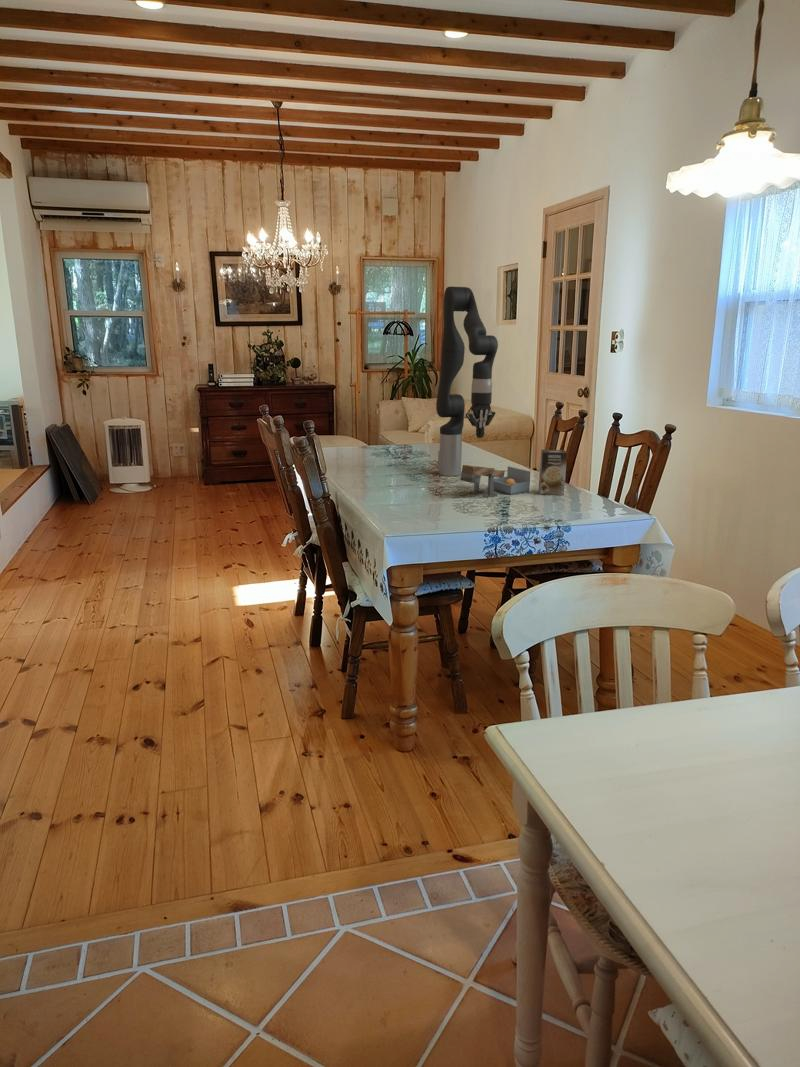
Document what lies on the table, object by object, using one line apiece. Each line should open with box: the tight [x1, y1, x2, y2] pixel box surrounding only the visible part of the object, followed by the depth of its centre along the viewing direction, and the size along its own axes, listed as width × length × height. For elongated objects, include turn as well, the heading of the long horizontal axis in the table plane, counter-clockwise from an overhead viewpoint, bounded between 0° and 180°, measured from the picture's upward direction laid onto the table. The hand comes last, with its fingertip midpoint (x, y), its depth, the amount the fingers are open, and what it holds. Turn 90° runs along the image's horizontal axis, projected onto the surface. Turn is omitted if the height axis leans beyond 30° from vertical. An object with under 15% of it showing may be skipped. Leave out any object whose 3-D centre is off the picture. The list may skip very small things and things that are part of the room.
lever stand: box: [469, 473, 498, 499], centre depth 276 cm, size 5×11×9 cm, turn 33°
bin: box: [493, 465, 531, 496], centre depth 283 cm, size 9×12×8 cm
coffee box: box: [538, 449, 568, 496], centre depth 278 cm, size 9×6×16 cm
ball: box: [505, 479, 516, 485], centre depth 284 cm, size 4×4×4 cm
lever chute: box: [460, 464, 506, 485], centre depth 279 cm, size 15×15×6 cm
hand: (479, 437), depth 281 cm, fingers closed
